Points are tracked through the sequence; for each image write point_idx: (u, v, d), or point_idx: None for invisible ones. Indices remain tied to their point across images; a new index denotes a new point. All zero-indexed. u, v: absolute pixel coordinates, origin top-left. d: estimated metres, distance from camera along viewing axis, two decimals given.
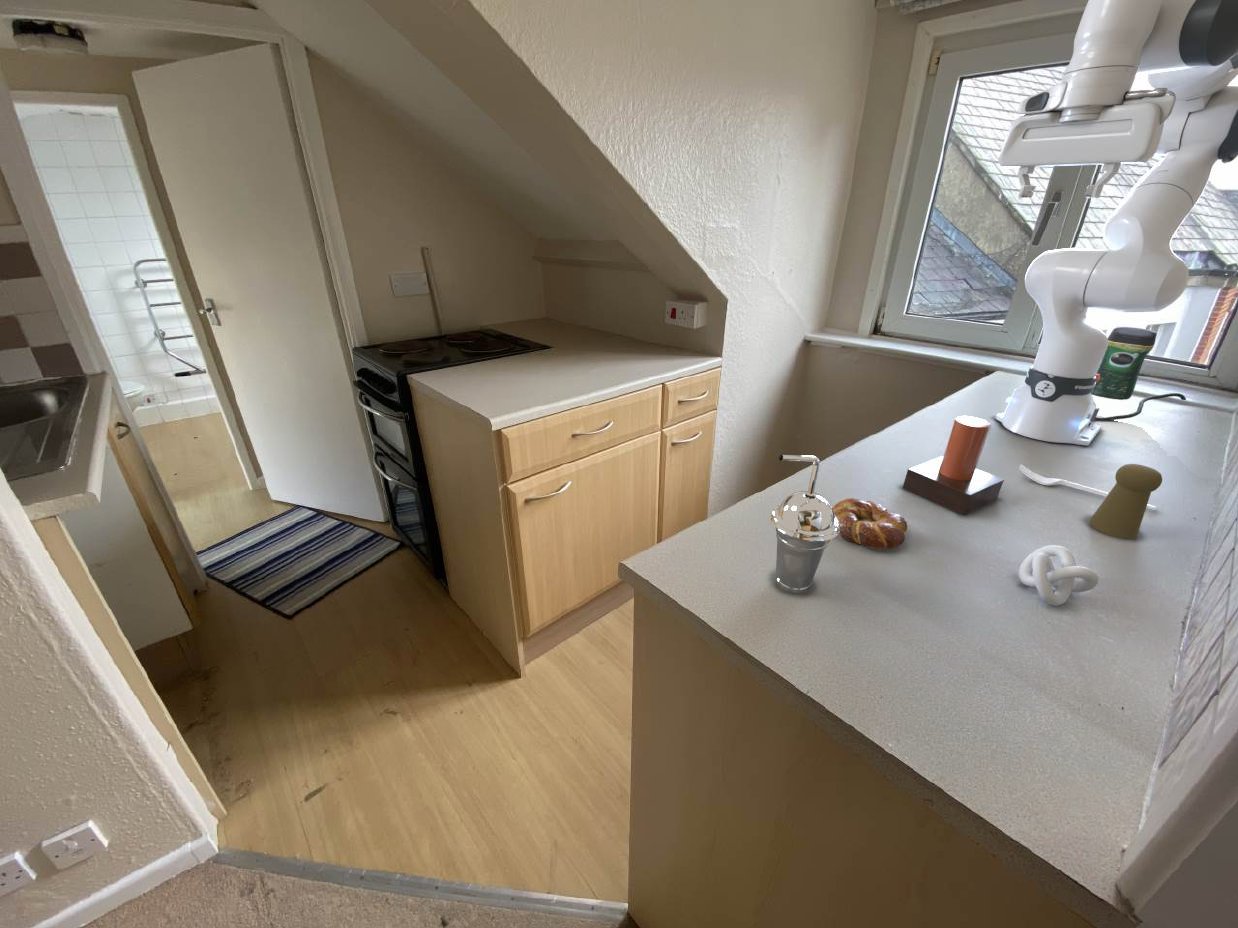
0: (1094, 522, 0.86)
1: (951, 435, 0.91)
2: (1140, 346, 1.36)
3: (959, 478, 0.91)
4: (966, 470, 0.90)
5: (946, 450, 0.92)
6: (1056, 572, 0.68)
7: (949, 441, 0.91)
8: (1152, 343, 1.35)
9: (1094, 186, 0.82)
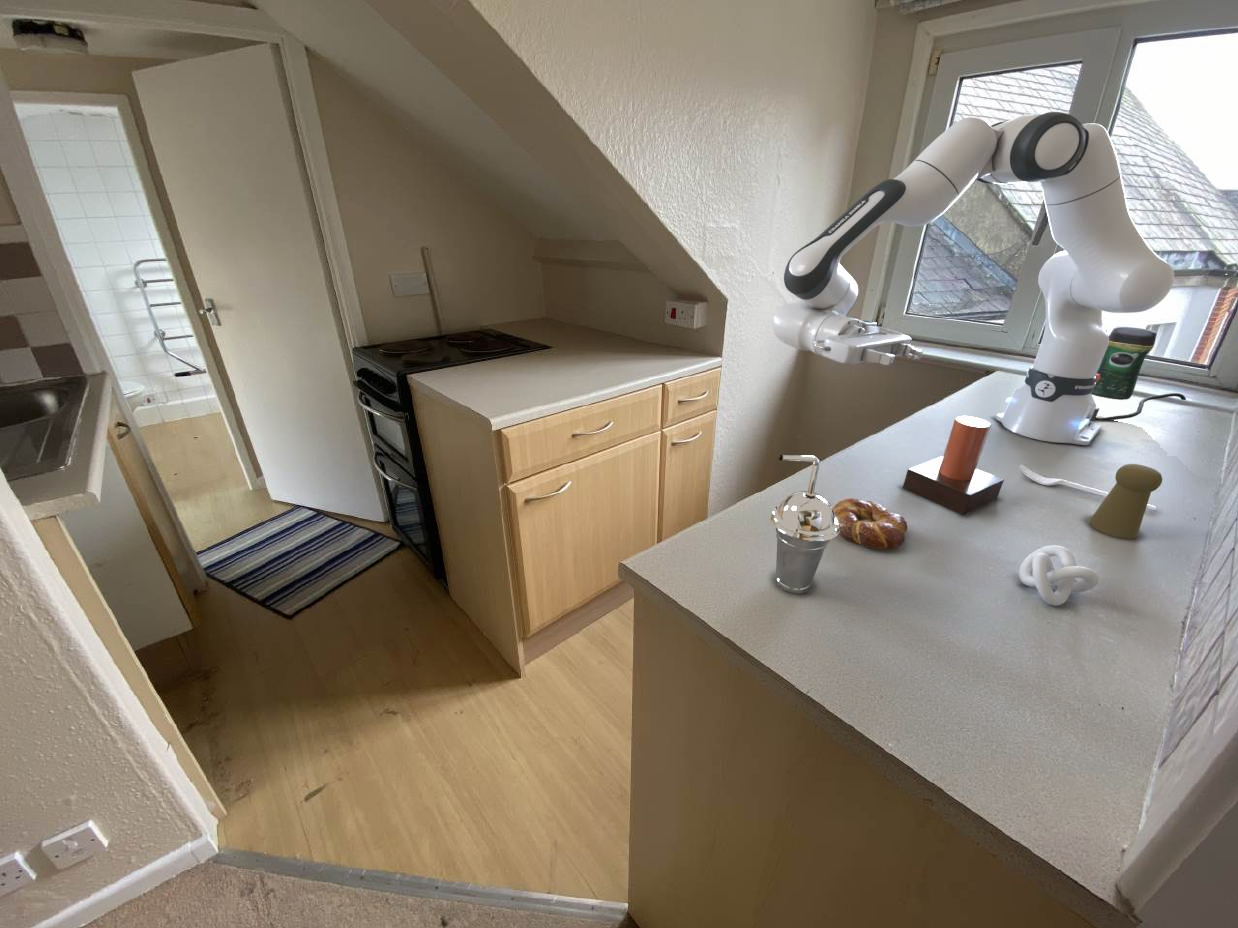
0: (1094, 522, 0.86)
1: (951, 435, 0.91)
2: (1140, 346, 1.36)
3: (959, 478, 0.91)
4: (966, 470, 0.90)
5: (946, 450, 0.92)
6: (1056, 572, 0.68)
7: (949, 441, 0.91)
8: (1152, 343, 1.35)
9: None
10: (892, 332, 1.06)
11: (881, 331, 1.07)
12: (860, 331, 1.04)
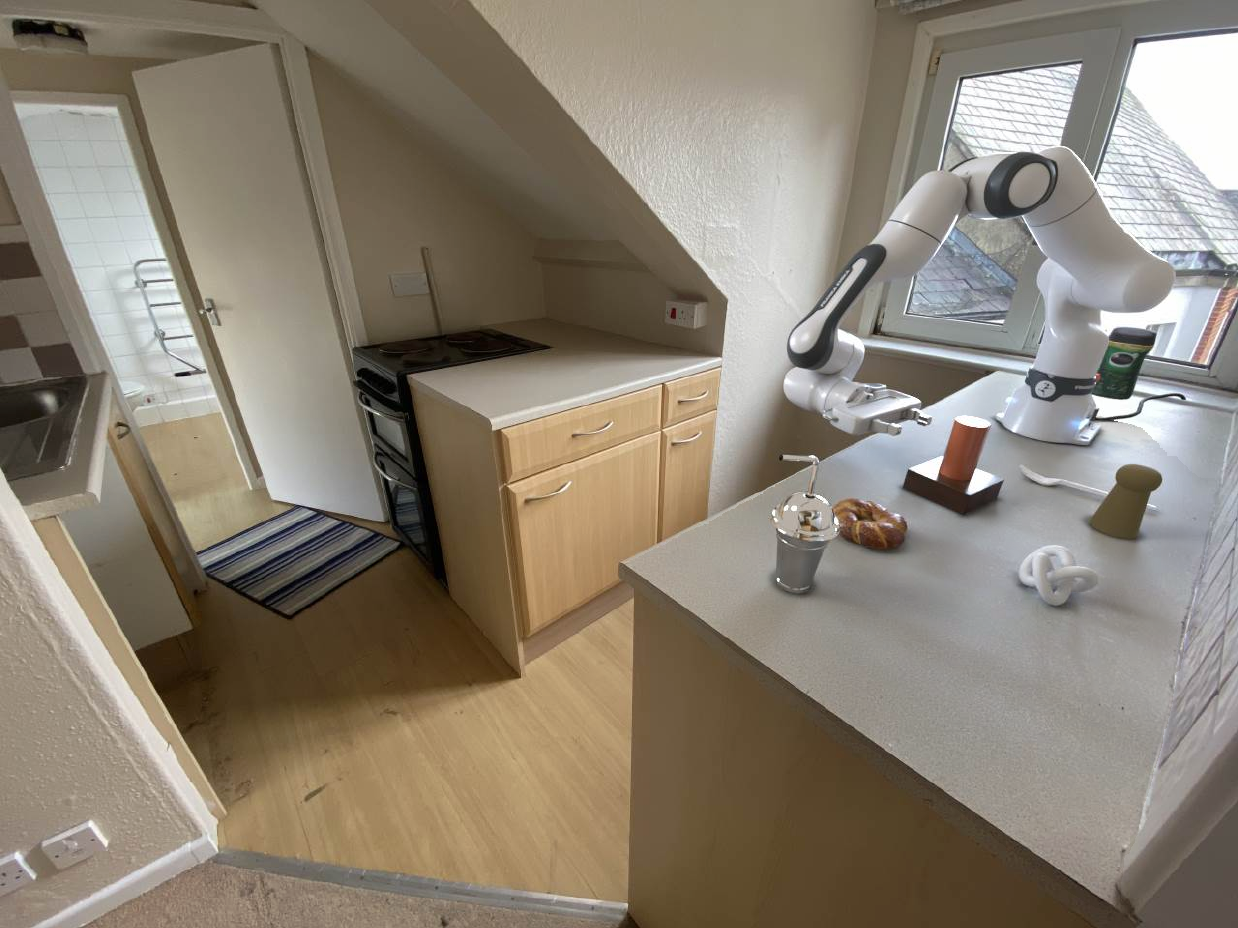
0: (1094, 522, 0.86)
1: (951, 435, 0.91)
2: (1140, 346, 1.36)
3: (959, 478, 0.91)
4: (966, 470, 0.90)
5: (946, 450, 0.92)
6: (1056, 572, 0.68)
7: (949, 441, 0.91)
8: (1152, 343, 1.35)
9: None
10: (902, 395, 1.08)
11: (891, 394, 1.08)
12: (869, 397, 1.05)
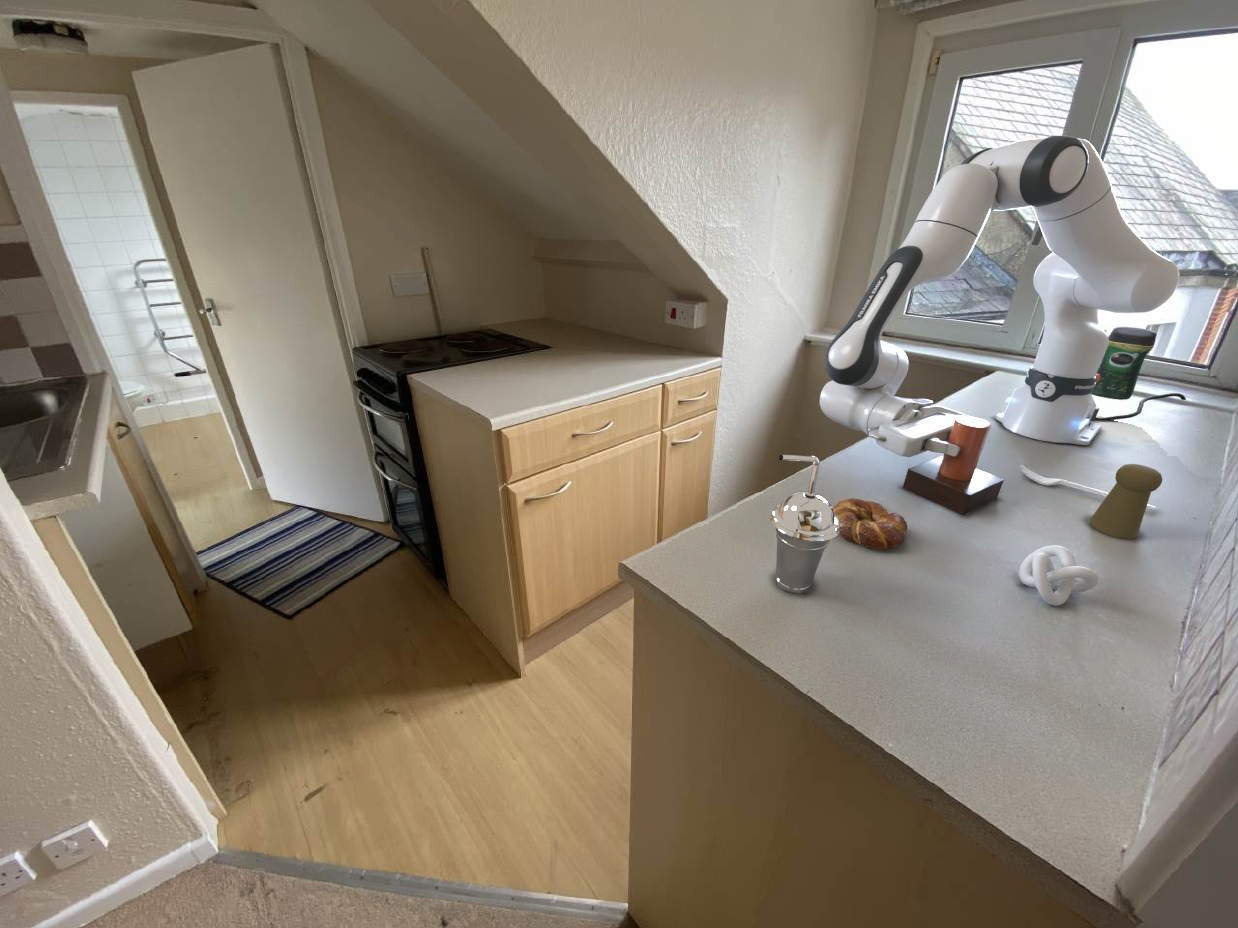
0: (1094, 522, 0.86)
1: (951, 435, 0.91)
2: (1140, 346, 1.36)
3: (959, 478, 0.91)
4: (966, 470, 0.90)
5: None
6: (1056, 572, 0.68)
7: (949, 441, 0.91)
8: (1152, 343, 1.35)
9: None
10: (951, 412, 1.00)
11: (939, 411, 1.01)
12: (917, 414, 0.98)
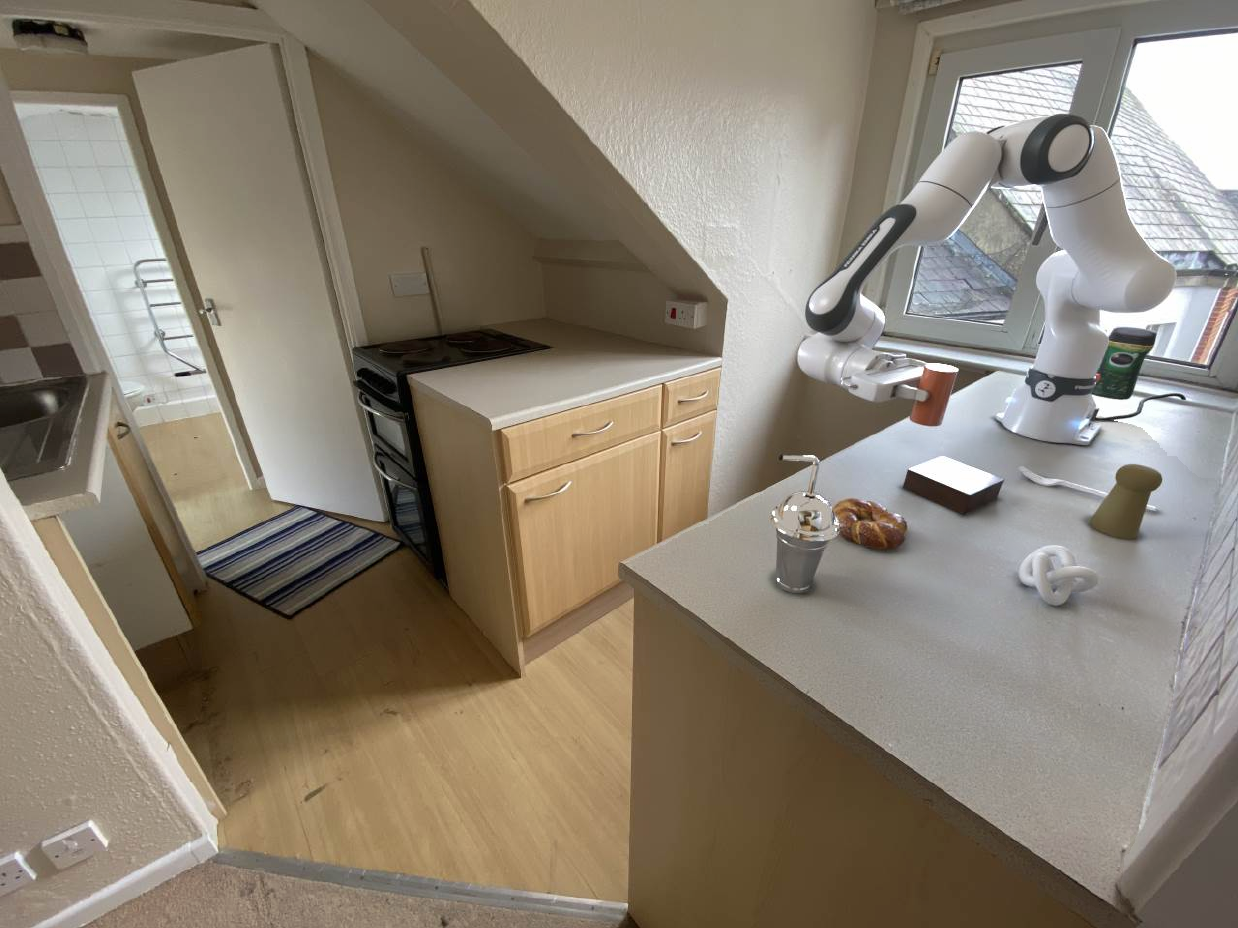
0: (1094, 522, 0.86)
1: (920, 382, 0.93)
2: (1140, 346, 1.36)
3: (928, 424, 0.94)
4: (934, 415, 0.93)
5: None
6: (1056, 572, 0.68)
7: (918, 388, 0.94)
8: (1152, 343, 1.35)
9: None
10: (923, 364, 1.02)
11: (912, 363, 1.03)
12: (889, 365, 1.00)
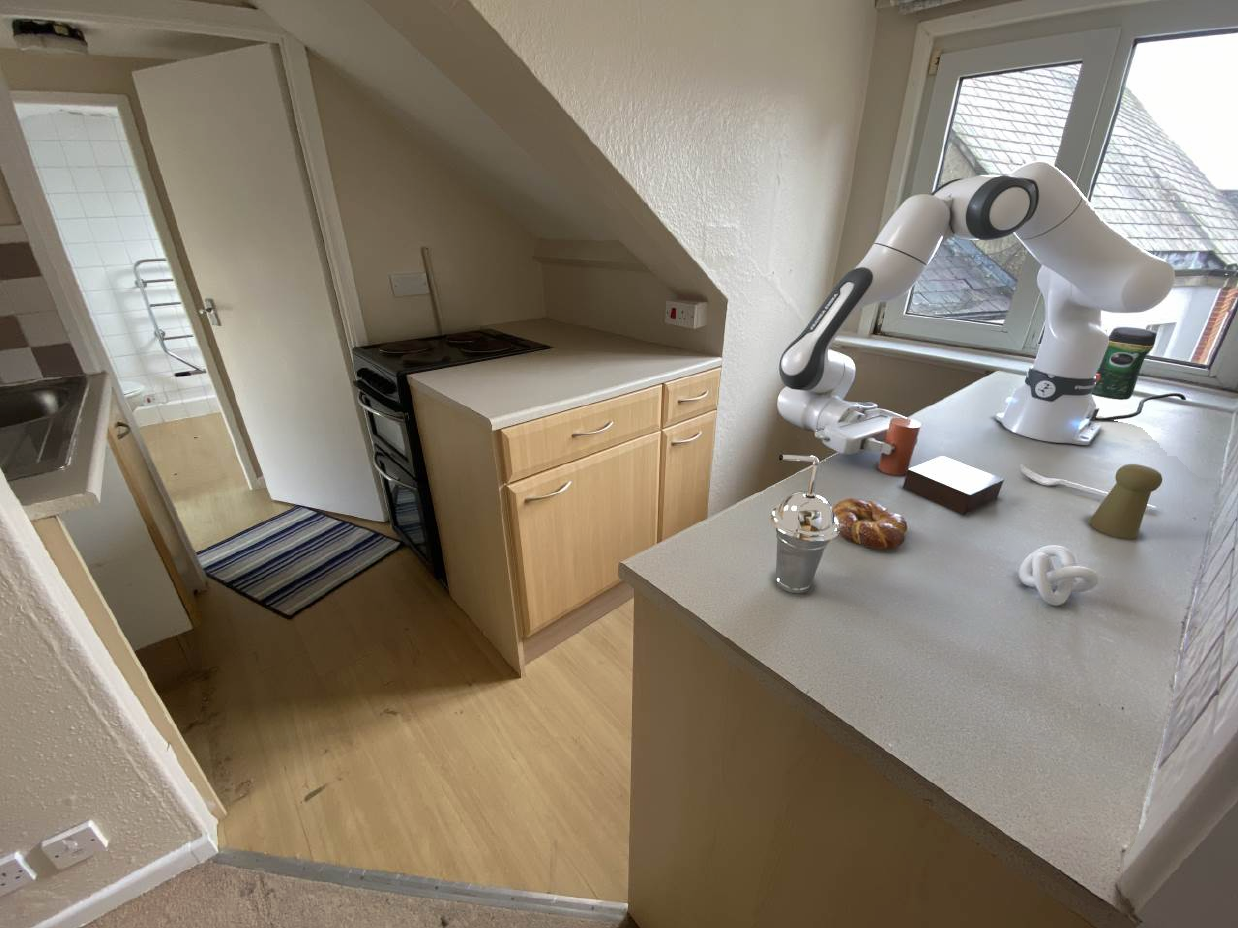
0: (1094, 522, 0.86)
1: (887, 434, 1.01)
2: (1140, 346, 1.36)
3: (894, 473, 1.01)
4: (900, 465, 1.00)
5: None
6: (1056, 572, 0.68)
7: (885, 440, 1.01)
8: (1152, 343, 1.35)
9: None
10: (892, 414, 1.10)
11: (882, 414, 1.11)
12: (860, 417, 1.08)
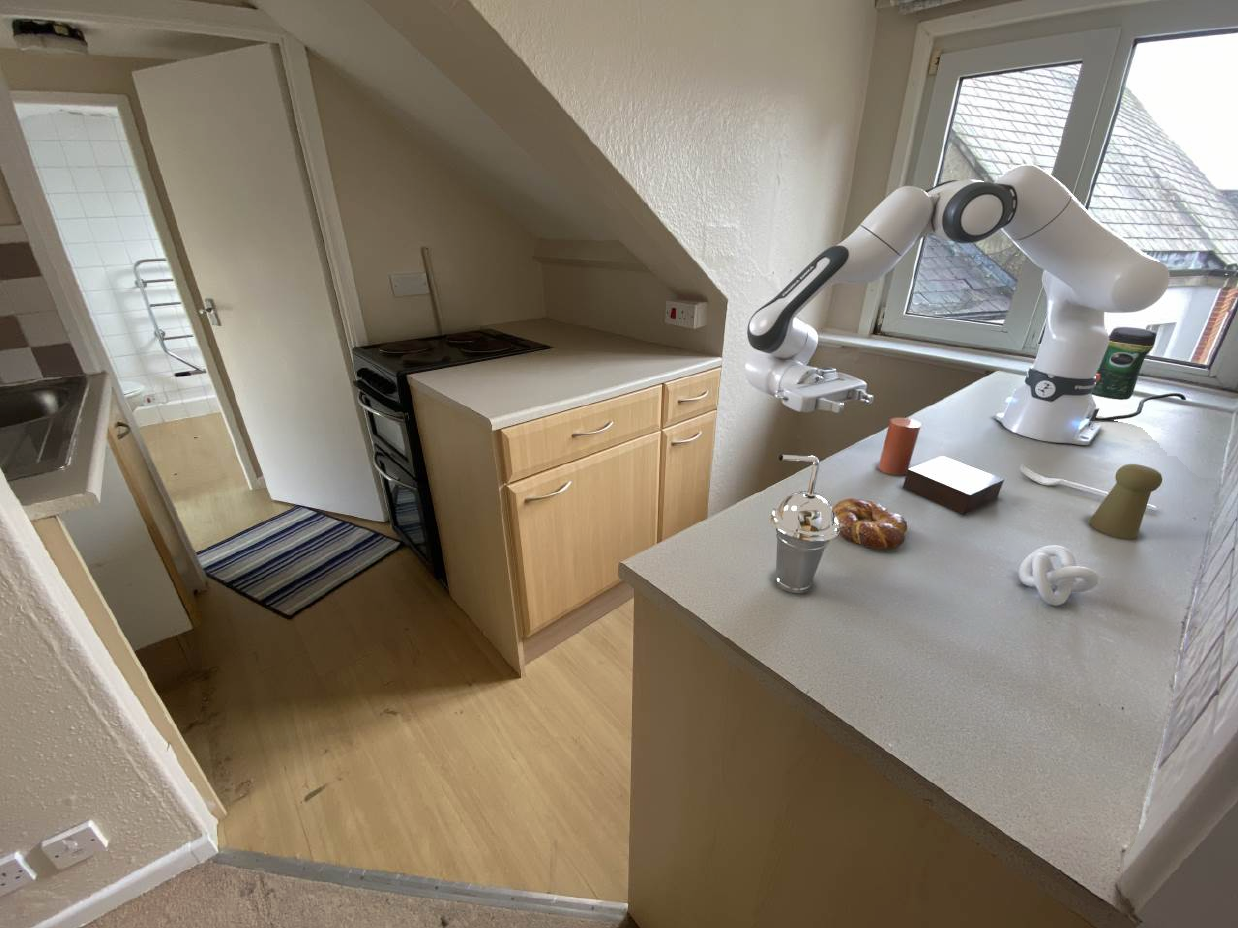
0: (1094, 522, 0.86)
1: (887, 434, 1.01)
2: (1140, 346, 1.36)
3: (894, 473, 1.01)
4: (900, 466, 1.00)
5: (883, 448, 1.02)
6: (1056, 572, 0.68)
7: (885, 440, 1.01)
8: (1152, 343, 1.35)
9: (833, 410, 1.07)
10: (850, 378, 1.17)
11: (840, 377, 1.18)
12: (818, 379, 1.15)
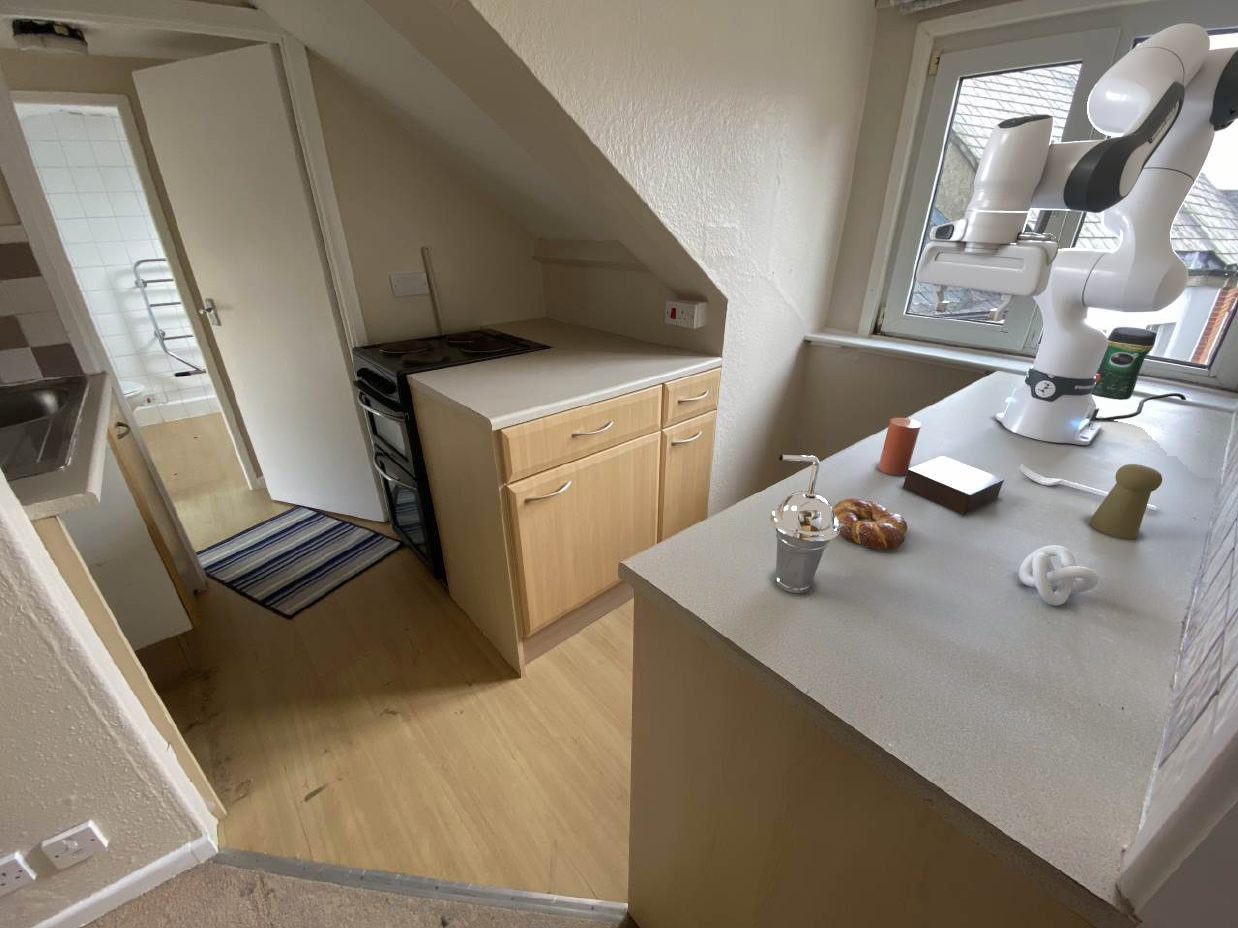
0: (1094, 522, 0.86)
1: (887, 434, 1.01)
2: (1140, 346, 1.36)
3: (894, 473, 1.01)
4: (900, 466, 1.00)
5: (883, 448, 1.02)
6: (1056, 572, 0.68)
7: (885, 440, 1.01)
8: (1152, 343, 1.35)
9: (995, 311, 0.89)
10: None
11: None
12: None
